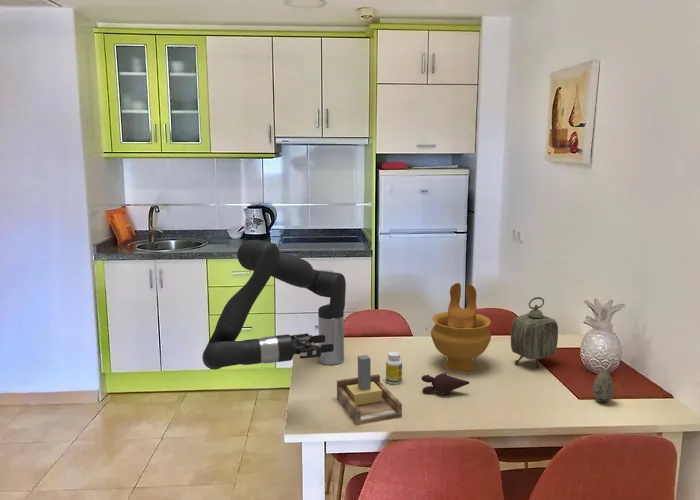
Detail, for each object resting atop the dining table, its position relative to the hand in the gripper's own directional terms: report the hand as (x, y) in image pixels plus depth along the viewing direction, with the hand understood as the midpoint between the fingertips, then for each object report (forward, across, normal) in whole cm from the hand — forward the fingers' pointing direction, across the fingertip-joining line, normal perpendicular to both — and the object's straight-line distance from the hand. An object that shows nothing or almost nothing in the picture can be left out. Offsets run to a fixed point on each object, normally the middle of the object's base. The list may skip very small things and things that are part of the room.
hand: (328, 342), depth 168 cm
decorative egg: (+80, -24, +20) cm, 86 cm away
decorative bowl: (+54, +17, +20) cm, 60 cm away
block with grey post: (+11, 0, +19) cm, 22 cm away
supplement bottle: (+26, +12, +21) cm, 35 cm away
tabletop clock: (+79, +8, +20) cm, 82 cm away
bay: (+11, -3, +21) cm, 24 cm away
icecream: (+38, -2, +21) cm, 43 cm away
